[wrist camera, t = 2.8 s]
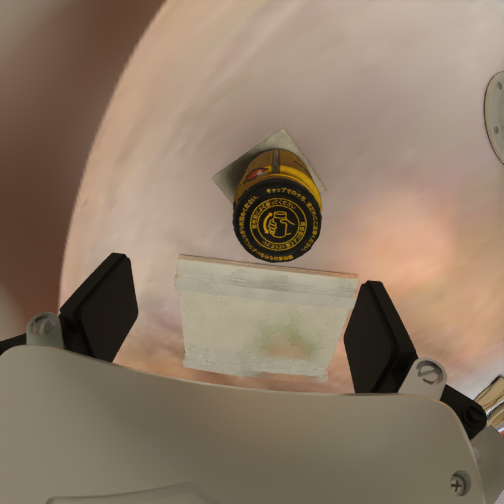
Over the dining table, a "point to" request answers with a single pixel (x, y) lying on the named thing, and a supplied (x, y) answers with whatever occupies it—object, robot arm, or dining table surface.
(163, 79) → the dining table surface
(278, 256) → the condiment
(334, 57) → the dining table surface
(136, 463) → the robot arm
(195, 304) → the white flat square pad
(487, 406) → the tableware set
